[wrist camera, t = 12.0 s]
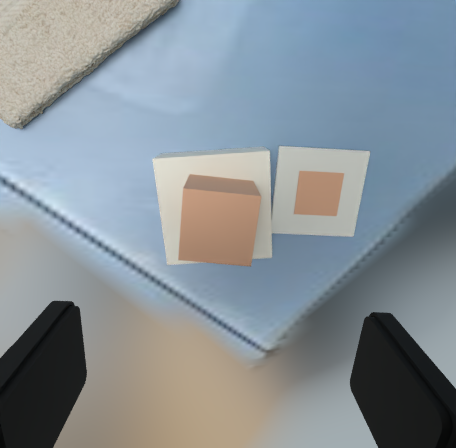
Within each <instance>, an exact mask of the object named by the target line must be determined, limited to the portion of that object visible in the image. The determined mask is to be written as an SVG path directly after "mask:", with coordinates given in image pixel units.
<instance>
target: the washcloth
mask: <svg viewBox="0 0 456 448" xmlns="http://www.w3.org/2000/svg"><path fill="white" fill-rule="evenodd" d="M179 1H180V0H0V118H1V119H2V120H3V121H4V123H6V124H7V125H9V126H10V127H12V128H20V129H23V126H24V125H25V124H27V123H28V122H30V121H31V120H32V118H34V117H36V116H37V115H38V114H39V113H41V114H43V110H44V108H45V107H47V106H50V105H51V104H52V103H53V101H54V100H56V99H57V98H58V97H59V96H60V95H61V94H63V93H65V92H66V91H68V89H69V88H72V86H73V85H74V84H76V83H79V82H80V81H81V79H82V78H83V77H84V76H86V75H89V74H90V73H91V72H93V70H94V69H95V68H97V67H98V66H99V64H100V63H102V62H103V61H104V60H105V59H106V58H107V56H108V55H110V54H112V53H113V52H115V51H116V50H117V49H118V48H120V47H122V45H123V44H124V43H125V42H126V41H127V40H129V39H130V38H132V37H133V36H135V35H136V34H138V32H139V31H140V30H141V29H144V28H145V27H146V26H148V25H149V24H150V23H151V22H154V20H155V19H157V18H158V17H159V16H160V15H164V13H166V12H167V11H168V10H169V9H170V8H172V7H175V6H176V5H177V3H178V2H179Z"/></svg>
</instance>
